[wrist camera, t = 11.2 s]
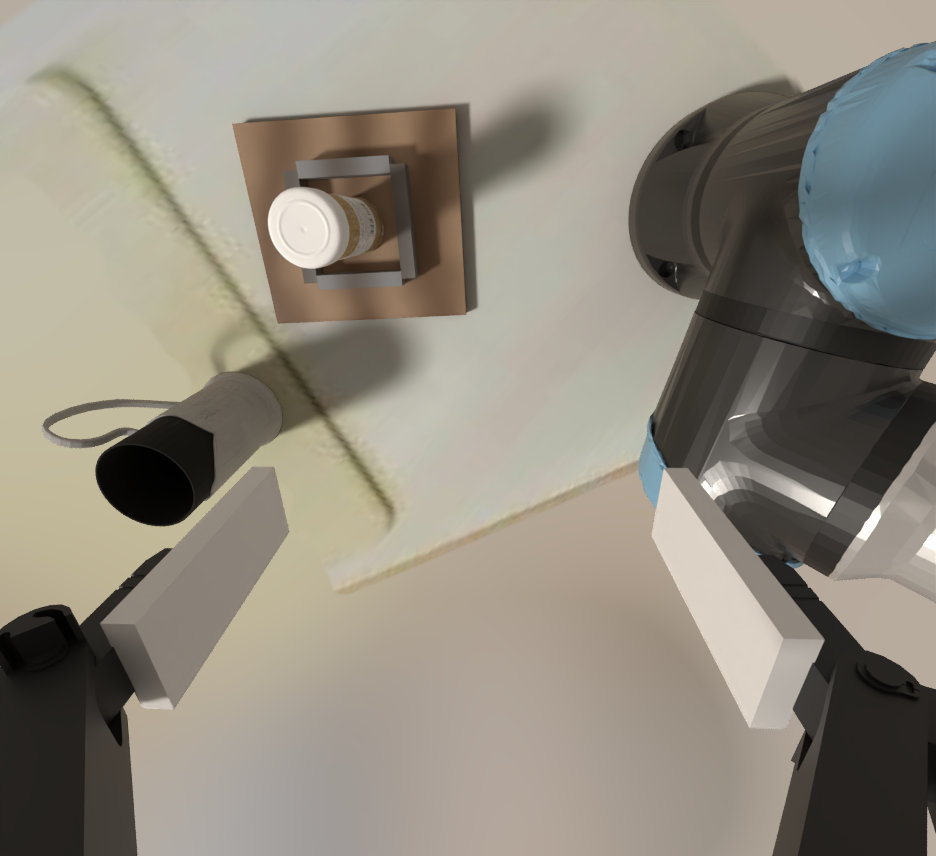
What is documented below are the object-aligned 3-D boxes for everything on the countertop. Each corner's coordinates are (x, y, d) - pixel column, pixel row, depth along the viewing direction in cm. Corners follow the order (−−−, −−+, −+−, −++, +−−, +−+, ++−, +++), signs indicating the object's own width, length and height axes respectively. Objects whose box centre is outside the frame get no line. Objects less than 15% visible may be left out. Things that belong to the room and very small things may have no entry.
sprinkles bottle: (331, 196, 38) (259, 184, 26) (384, 197, 38) (337, 186, 26) (336, 253, 40) (271, 268, 28) (387, 255, 40) (344, 270, 28)
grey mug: (271, 459, 50) (192, 547, 37) (142, 408, 48) (8, 483, 35) (291, 392, 47) (213, 463, 33) (154, 335, 45) (10, 385, 31)
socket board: (455, 111, 36) (453, 102, 33) (466, 312, 43) (465, 318, 40) (238, 126, 37) (218, 118, 34) (282, 321, 44) (268, 328, 41)
